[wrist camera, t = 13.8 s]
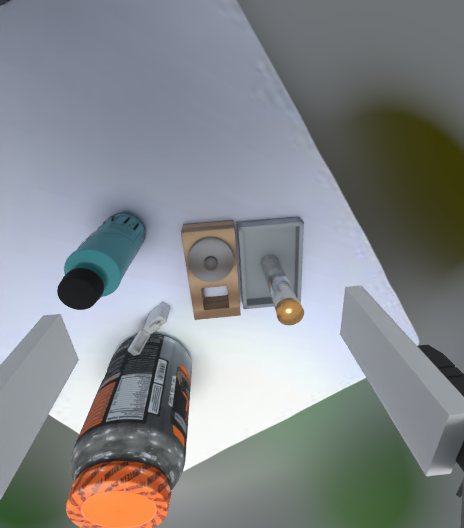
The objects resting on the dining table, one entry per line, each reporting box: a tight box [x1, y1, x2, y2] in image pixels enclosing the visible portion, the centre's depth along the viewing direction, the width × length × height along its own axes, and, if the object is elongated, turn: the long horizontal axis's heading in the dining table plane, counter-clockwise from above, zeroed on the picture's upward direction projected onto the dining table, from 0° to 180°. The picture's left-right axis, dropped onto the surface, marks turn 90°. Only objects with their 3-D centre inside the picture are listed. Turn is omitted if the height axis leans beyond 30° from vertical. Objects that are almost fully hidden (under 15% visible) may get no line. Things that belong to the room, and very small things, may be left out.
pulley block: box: [181, 220, 240, 320], centre depth 48 cm, size 16×8×7 cm, turn 4°
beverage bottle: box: [57, 213, 146, 310], centre depth 38 cm, size 6×7×20 cm
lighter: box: [128, 302, 170, 356], centre depth 51 cm, size 7×2×8 cm, turn 131°
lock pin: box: [260, 254, 304, 325], centre depth 44 cm, size 3×3×15 cm
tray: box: [237, 217, 304, 309], centre depth 50 cm, size 15×10×3 cm
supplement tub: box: [66, 334, 192, 528], centre depth 48 cm, size 16×16×26 cm
